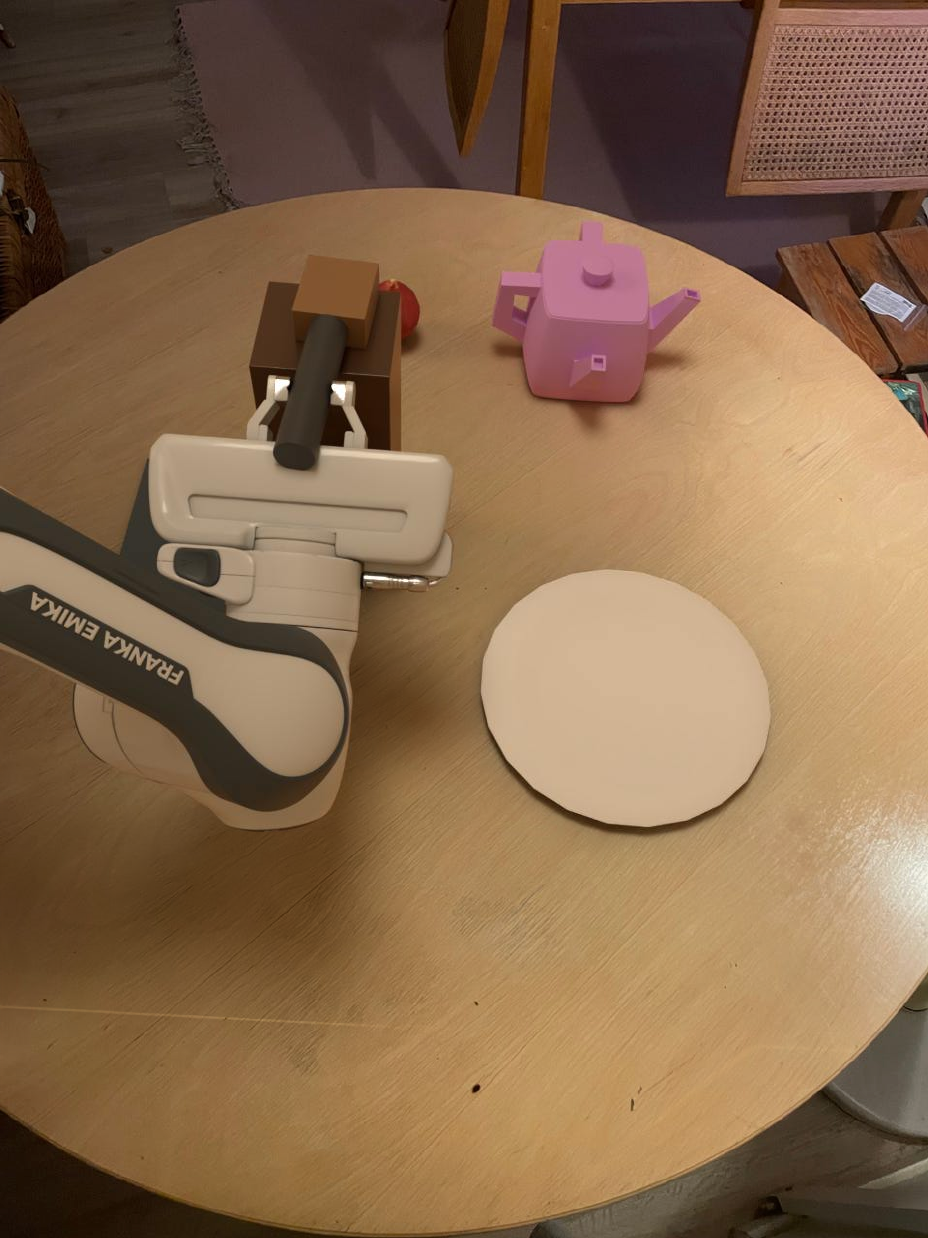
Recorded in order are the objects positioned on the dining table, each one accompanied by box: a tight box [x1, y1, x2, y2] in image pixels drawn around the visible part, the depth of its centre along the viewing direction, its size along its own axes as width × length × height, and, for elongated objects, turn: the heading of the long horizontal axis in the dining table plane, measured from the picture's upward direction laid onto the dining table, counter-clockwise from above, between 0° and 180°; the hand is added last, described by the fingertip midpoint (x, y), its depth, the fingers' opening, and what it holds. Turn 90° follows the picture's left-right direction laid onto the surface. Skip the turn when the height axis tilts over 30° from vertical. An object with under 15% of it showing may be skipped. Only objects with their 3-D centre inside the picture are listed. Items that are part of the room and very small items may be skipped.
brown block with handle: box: [273, 254, 380, 471], centre depth 72 cm, size 18×5×3 cm, turn 173°
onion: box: [379, 278, 421, 340], centre depth 109 cm, size 6×6×8 cm
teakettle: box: [491, 220, 702, 403], centre depth 107 cm, size 17×17×12 cm
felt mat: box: [119, 457, 227, 615], centre depth 96 cm, size 12×20×1 cm, turn 177°
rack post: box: [248, 280, 402, 574], centre depth 87 cm, size 10×9×26 cm
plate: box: [480, 568, 772, 829], centre depth 89 cm, size 25×25×2 cm
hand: (312, 380), depth 70 cm, fingers closed on brown block with handle, 3 cm apart
